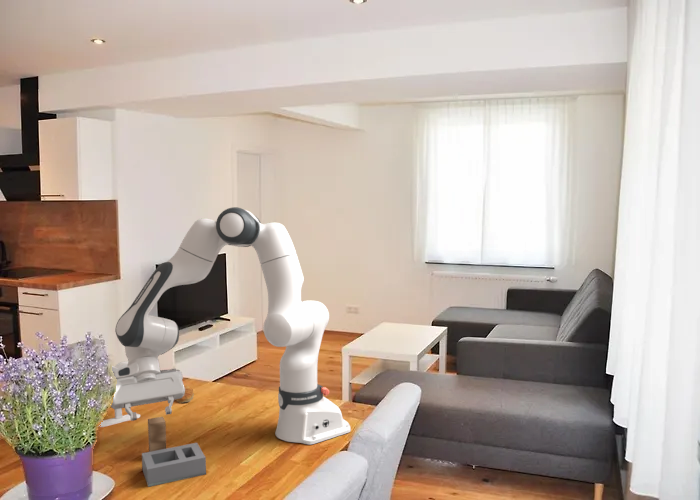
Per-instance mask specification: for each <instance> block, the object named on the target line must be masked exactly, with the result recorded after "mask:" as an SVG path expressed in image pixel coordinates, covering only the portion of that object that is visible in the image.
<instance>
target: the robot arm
mask: <svg viewBox="0 0 700 500" xmlns="http://www.w3.org/2000/svg"><path fill="white" fill-rule="evenodd" d="M225 246H233V247H238V248H248V247H252V248H253V249H254V250H255V251H256V255H257V257H258V260H259V264H260V268H261V271H262V274H263V278H264V281H265V286H266V289H267V302H268V306H267V315H266V318H265V320H264V323H263V335H264V337H265V339H266V340H267V342H269V343H270V344H271V345H272V346H274V347H277V348H285V350H284V353H283V354H282V355H281V358H280V361H279V386H278V394H277V395H278V396H277V397H278V399H277V400H278V406H279V412H278V414H279V415H278V419H277V424H276V425H277V426H276V429H275V433H274V434H275V436H276V438H277V439H280V440H282V441H284V442H288V443H301V444H304V445H314V444H317V443H321V442H324V441H326V440H327V441H328V440H330V439H333V438H336V437H339V436H342V435H346V434H349V433H350V432H351V430H352V429H351V425H350V423H349V422H348V421H347V420H345V419H344V418H343V414H342V411H341V409H340V407H339V406H338V405H336V404H335V403H334V402H333V401H331V400H330V399H328V398H327V397H325V396H329V394H330V390H329V389H328V388H327V387H326V386H323V385H320V384H319V383H318V361H319V356H320V355H319V354H320V348H321V344H322V342H323V341H322V340H323V336H324V332H325V330H326V328H327V326H328V324H329V322H330V312H329V309H328V308H327V306H326V305H325V304H324V303H323V302H321V301H318V300H310V299H307V300H303V301H302V287H303V284H304V280H305V277H304V274H303V270H302V266H301V264H300V261H299V257H298V254H297V251H296V248H295V246H294V243H293V240H292V238H291V236H290V234H289V232H288V230H287V229H286V226H285V225H283V224H282V223H281V222H274V221H273V222H267V223H261V221H260V219H259V218H258V217H257V215H255V214H254V213H252V212H251V211H250V210H247V209H246V208H245V209H244V208H241V207H229V208H226V209H224V210H222V212H221V213H220V214H219V215H218V217H217V219H216V220H214V219H211V218H205V217H204V218H198V219H197V220H196V221H194V222H193V224H192V225H191V227H190V228H189V229H188V231H187V232H186V233H185V236H184V237H183V239H182V240H181V243H180V245H179V247H178V249H177V251H176V252H175V253H174V254H173V256H172V257H171V258H170V259H168V260H167V261H165V262H162V263H161V264H159V265H158V266H157V268H156V269H155V270H153V272H152V274H151V276H150V277H149V278H148V280H147V281H146V283H145V284H144V285H143V286H142V289H141V290H140V292H139V293H138V294H137V296H136V298H135V299H134V300H133V302H132V303H131V305H130V306H129V307H128V308H127V309H126V311H125V312H124V313H122V315H121V316H120V317H119V319H117V323H116V325H115V331H114V332H115V335H116V337H117V341H119V343H121V345H122V346H124V353H125V356H126V358H127V361H128V365H127V366H126V367H124V368H122V369H119V370H117V371H115V372H114V376H115V377H116V379H117V384H116V392H115V394H114V397H113V403H112V405H111V404H110V407H111V408H112V409H113V410H115V409H121V408H122V409H124V411H125V413H126V414H129V415H130V418H131V420H130V421H131V422H133V421H137V419H138V418H137V416H136V414H137V412H136V411H135V412H133V411H132V409H131V408H133V407H136V406H137V407H138V406H145V405H149V404H154V403H162V402H167V403H168V406H165V409H164V411H165V415H171V414H172V412H173V410H172V406H173V403H174V401H175V399H180V398H182V397H183V396H184V394H185V388H184V386H185V384H184V381H183V378H184V376H183V372H182V371H181V370H180V369H177V368H171V369H170V368H169V369H162V370H161V367H160V361H159V360H160V359H159V356H160V355H164V354H166V353H167V352H169V351H170V350H172V349H174V347H175V346H176V345H177V344H178V342H179V339H180V330H179V326H178V324H177V322H175V320H171V319H168V318H166V317H165V318H164V317H160V316H155V315H151V314H150V313H151V311H152V310H153V308H154V307H155V306H156V305H157V303H158V302H159V300H160V298H161V296H162V295H163V294H164V293H165V292H166V291H167V290H169V289H170V288H173V287H178V286H182V285H183V286H185V285H191V284H196V283H199V282H201V281H203V280H204V279H206V278H207V276H208V275H209V274H210V273H211V270H212V268H213V266H214V264H215V262H216V260H217V257H218V255H219V253H220V252H221V250H222V249H223V248H224V247H225Z"/></svg>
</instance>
